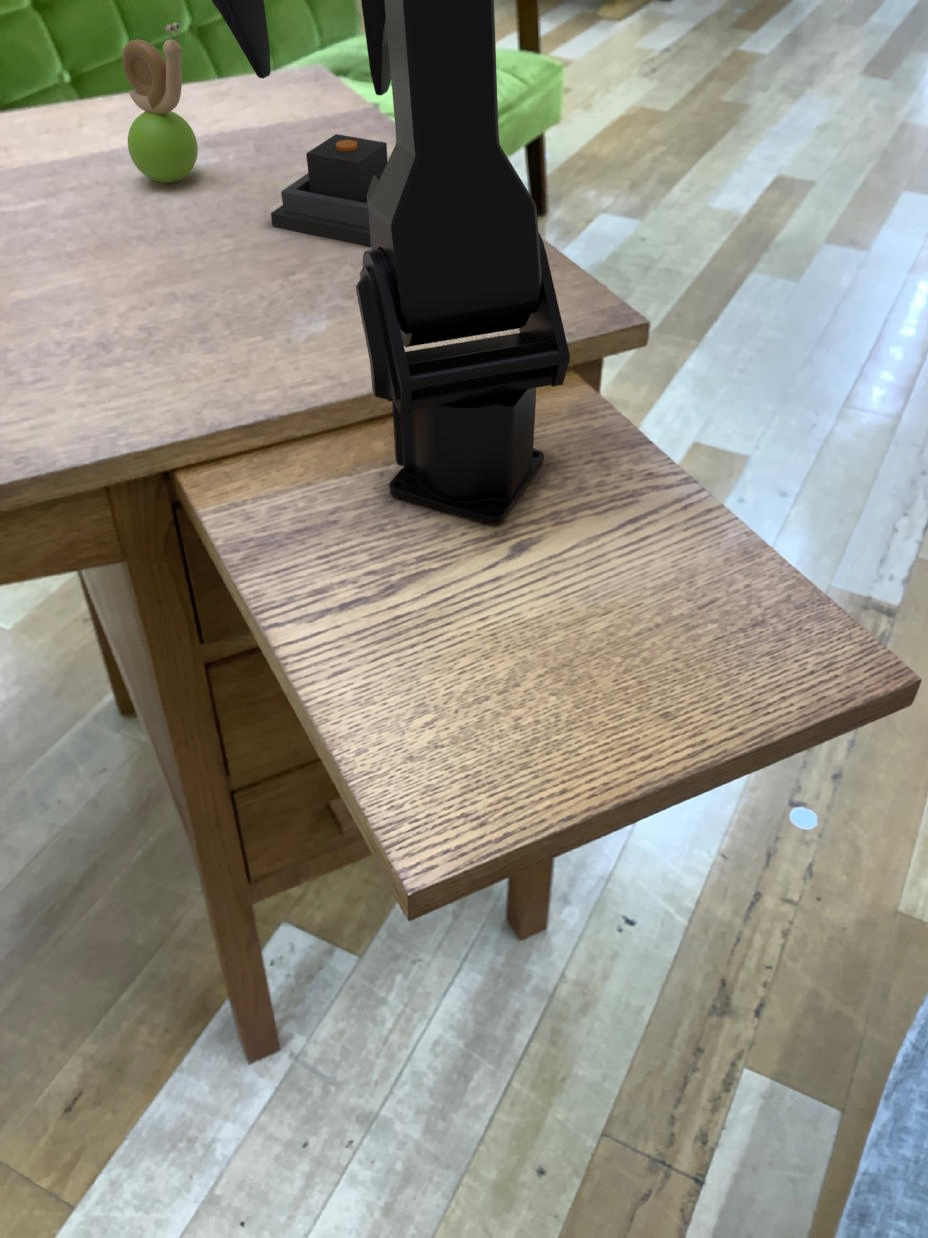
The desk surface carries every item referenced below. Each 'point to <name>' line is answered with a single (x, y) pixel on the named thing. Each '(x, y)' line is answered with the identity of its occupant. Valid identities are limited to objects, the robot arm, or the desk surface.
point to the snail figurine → (158, 111)
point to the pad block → (345, 166)
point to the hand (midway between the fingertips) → (322, 84)
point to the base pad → (322, 214)
